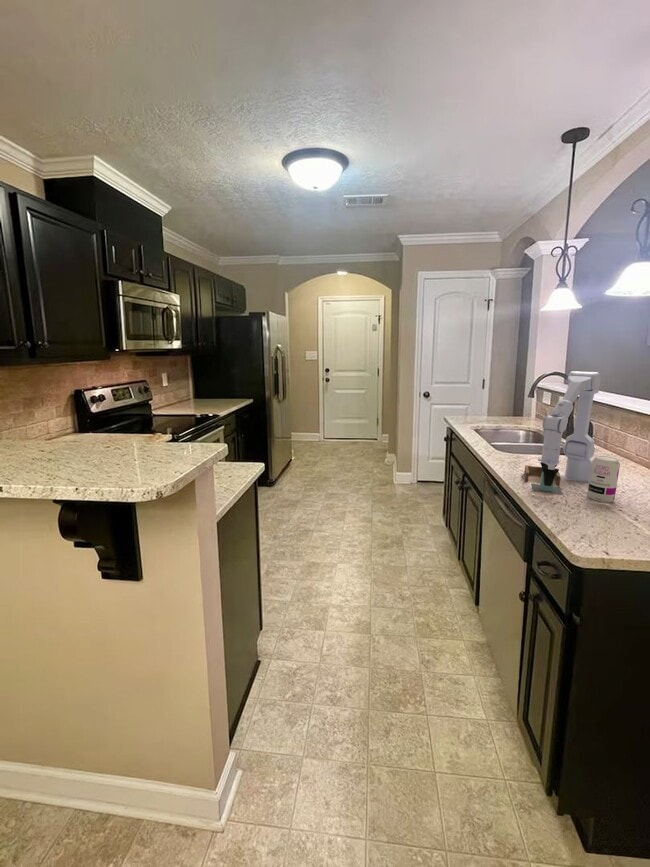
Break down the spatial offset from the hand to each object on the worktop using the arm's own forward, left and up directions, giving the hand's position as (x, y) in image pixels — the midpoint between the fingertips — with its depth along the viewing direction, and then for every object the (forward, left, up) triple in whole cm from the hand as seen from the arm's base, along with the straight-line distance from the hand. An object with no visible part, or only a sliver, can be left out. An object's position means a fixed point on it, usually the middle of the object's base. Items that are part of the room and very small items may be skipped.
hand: (547, 483), depth 161 cm
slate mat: (0, 0, -3) cm, 3 cm away
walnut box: (+1, -13, -3) cm, 13 cm away
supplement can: (-17, +3, -3) cm, 17 cm away
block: (0, 0, -2) cm, 2 cm away
